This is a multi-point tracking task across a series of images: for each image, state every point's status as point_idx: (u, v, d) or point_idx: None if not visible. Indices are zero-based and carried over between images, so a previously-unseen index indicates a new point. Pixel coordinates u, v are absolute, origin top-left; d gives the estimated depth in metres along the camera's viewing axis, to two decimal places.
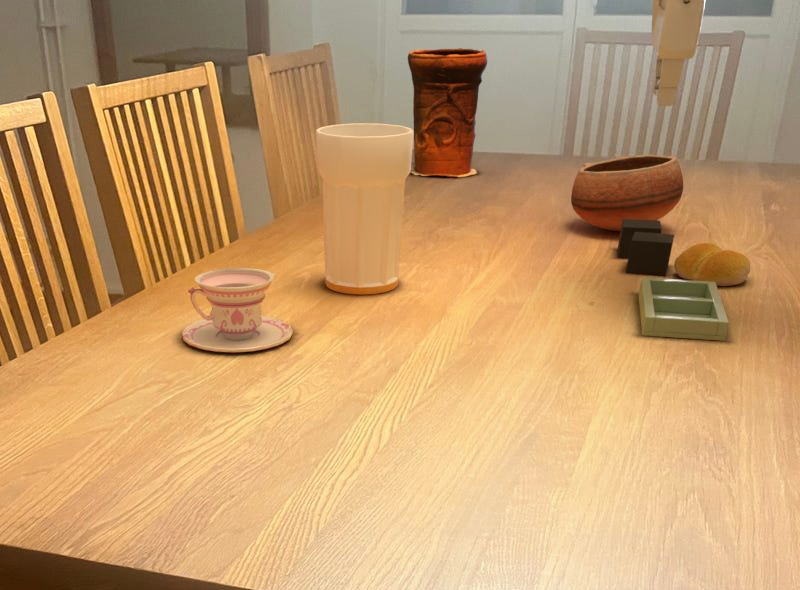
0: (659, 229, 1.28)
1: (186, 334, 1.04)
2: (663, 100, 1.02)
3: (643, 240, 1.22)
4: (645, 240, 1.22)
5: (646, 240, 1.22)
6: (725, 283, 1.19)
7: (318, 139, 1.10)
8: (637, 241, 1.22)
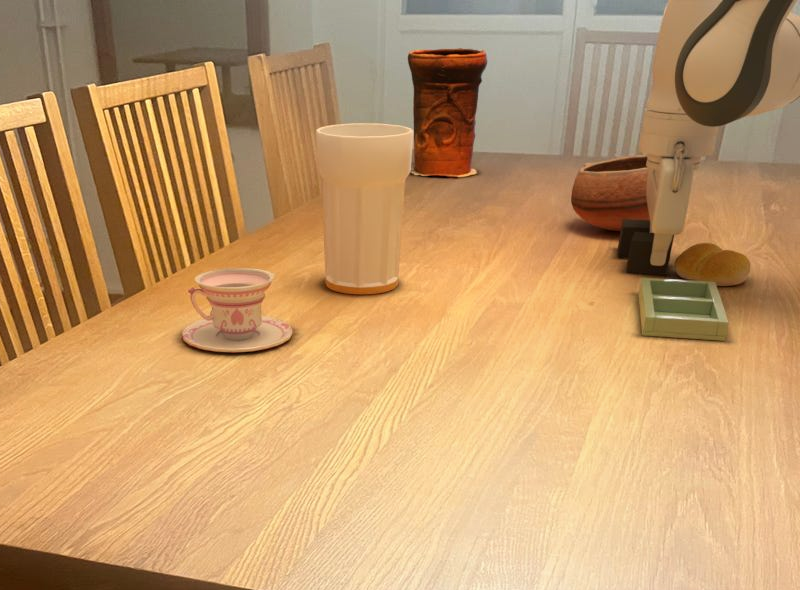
0: None
1: (186, 334, 1.04)
2: (655, 261, 1.20)
3: (643, 240, 1.22)
4: (645, 240, 1.22)
5: (646, 240, 1.22)
6: (725, 283, 1.19)
7: (318, 139, 1.10)
8: (637, 241, 1.22)
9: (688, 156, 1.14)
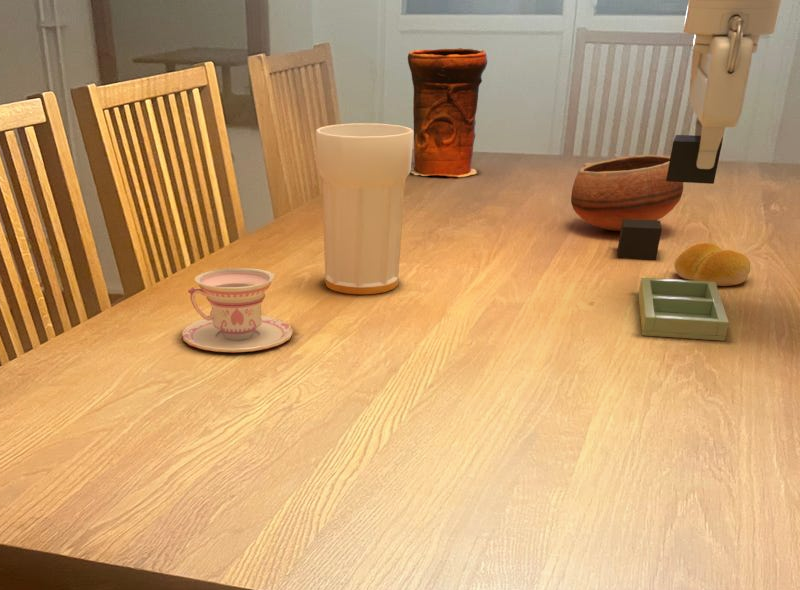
0: (659, 229, 1.28)
1: (186, 334, 1.04)
2: (703, 163, 1.03)
3: (687, 141, 1.03)
4: (690, 141, 1.03)
5: (691, 141, 1.03)
6: (725, 283, 1.19)
7: (318, 139, 1.10)
8: (680, 142, 1.03)
9: (745, 33, 0.95)
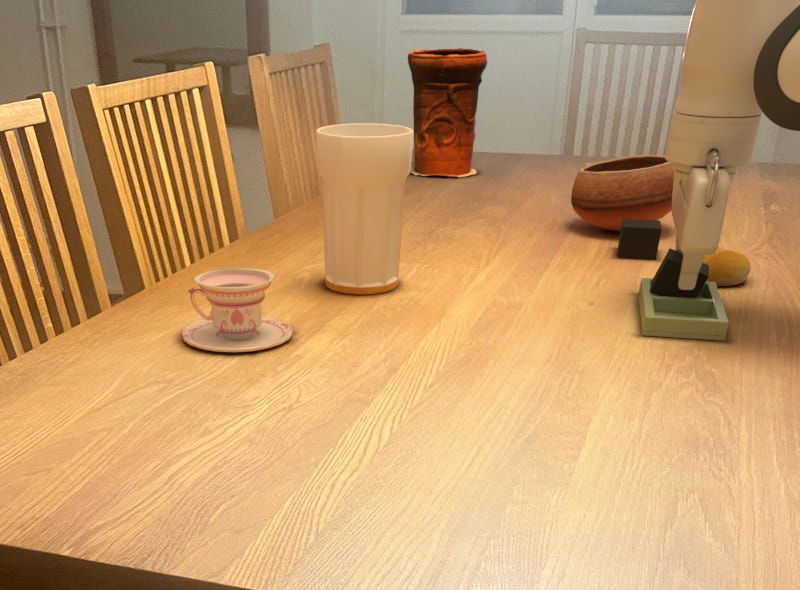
0: (659, 229, 1.28)
1: (186, 334, 1.04)
2: (684, 285, 1.06)
3: (679, 263, 1.08)
4: (681, 263, 1.08)
5: None
6: (725, 283, 1.19)
7: (318, 139, 1.10)
8: (673, 262, 1.08)
9: (723, 165, 1.00)
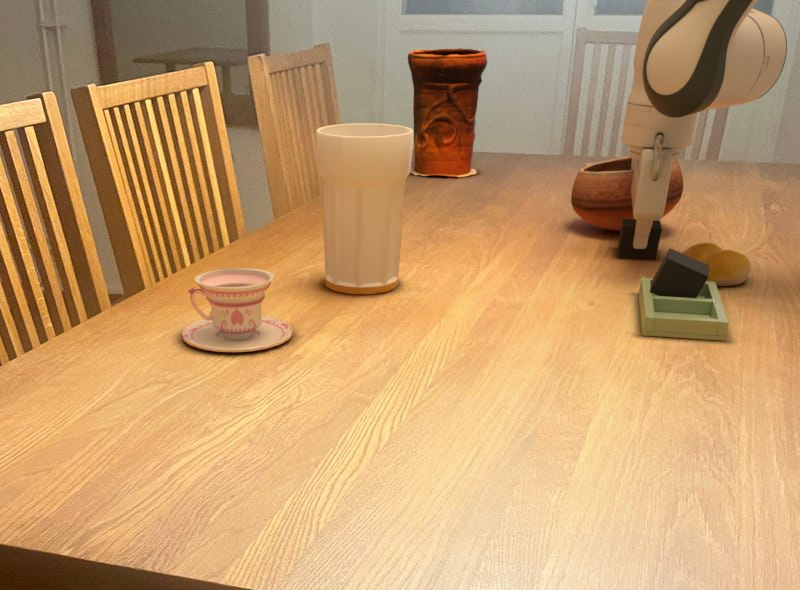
0: (659, 229, 1.28)
1: (186, 334, 1.04)
2: (638, 244, 1.28)
3: (679, 263, 1.08)
4: (681, 263, 1.08)
5: (682, 264, 1.08)
6: (725, 283, 1.19)
7: (318, 139, 1.10)
8: (673, 262, 1.08)
9: (667, 146, 1.21)
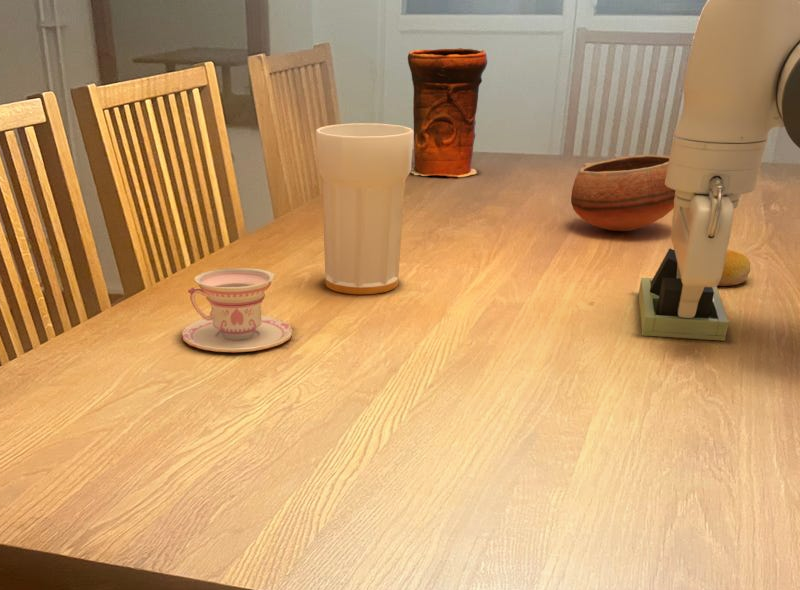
0: (711, 293, 1.02)
1: (186, 334, 1.04)
2: (684, 313, 1.02)
3: None
4: None
5: None
6: (725, 283, 1.19)
7: (318, 139, 1.10)
8: (673, 262, 1.08)
9: (726, 193, 0.95)
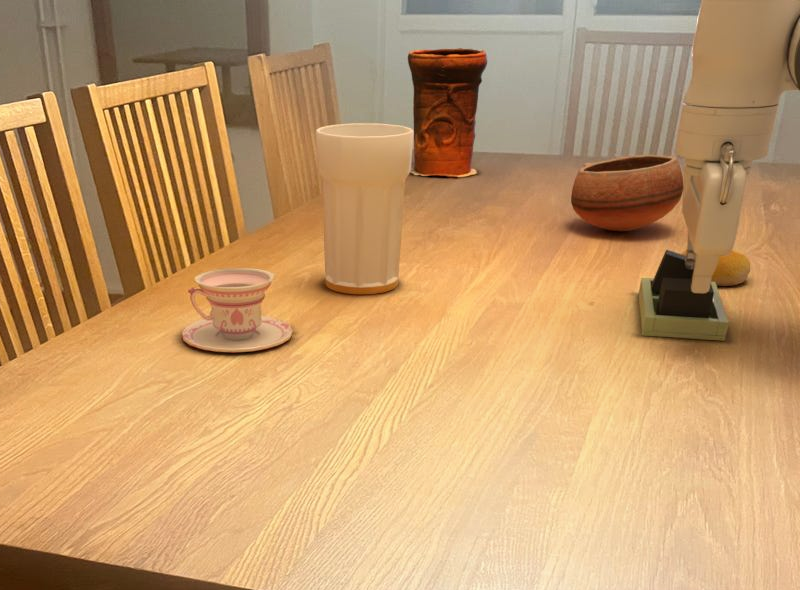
0: (711, 293, 1.02)
1: (186, 334, 1.04)
2: (698, 288, 0.99)
3: (678, 257, 1.08)
4: (680, 258, 1.08)
5: (681, 258, 1.08)
6: (725, 283, 1.19)
7: (318, 139, 1.10)
8: (672, 257, 1.08)
9: (738, 159, 0.93)
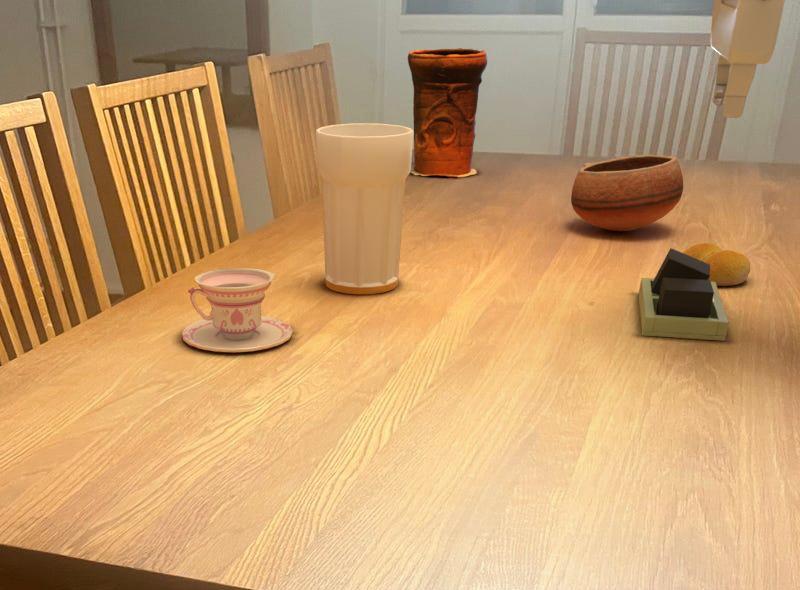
0: (711, 293, 1.02)
1: (186, 334, 1.04)
2: (730, 111, 0.90)
3: (681, 262, 1.08)
4: (683, 263, 1.08)
5: (684, 263, 1.08)
6: (725, 283, 1.19)
7: (318, 139, 1.10)
8: (674, 261, 1.08)
9: None
